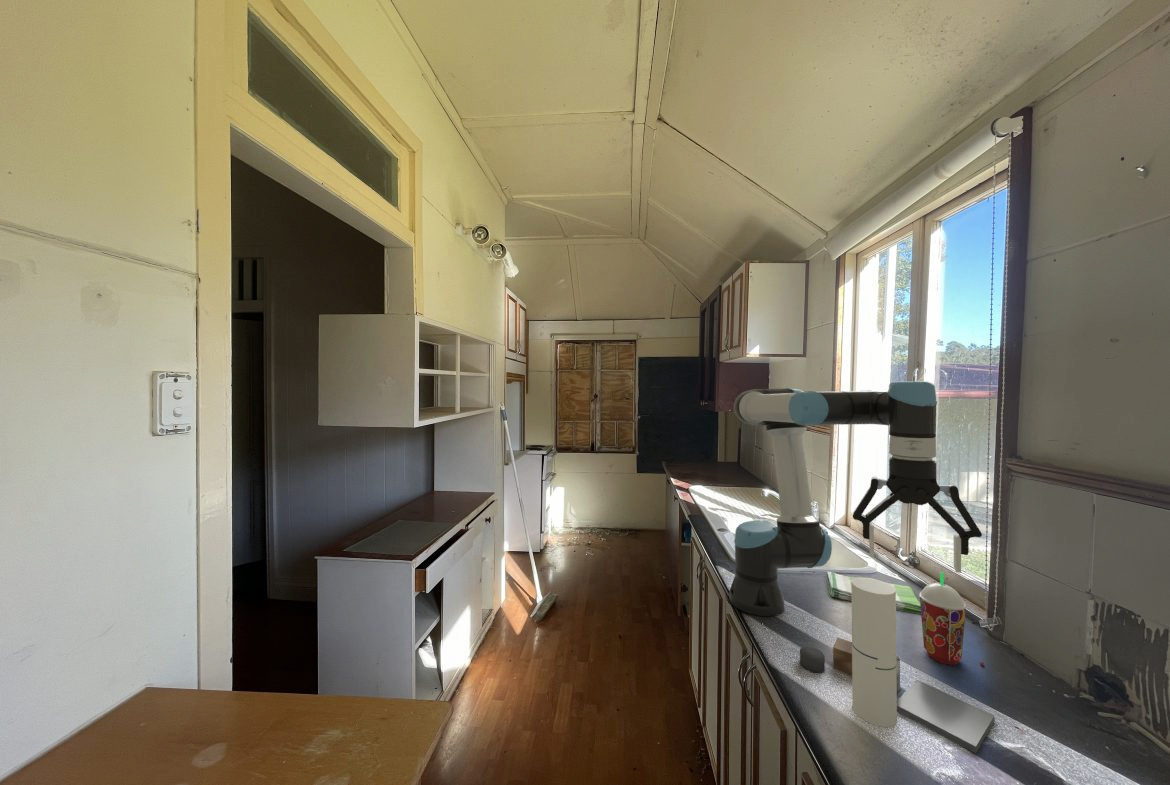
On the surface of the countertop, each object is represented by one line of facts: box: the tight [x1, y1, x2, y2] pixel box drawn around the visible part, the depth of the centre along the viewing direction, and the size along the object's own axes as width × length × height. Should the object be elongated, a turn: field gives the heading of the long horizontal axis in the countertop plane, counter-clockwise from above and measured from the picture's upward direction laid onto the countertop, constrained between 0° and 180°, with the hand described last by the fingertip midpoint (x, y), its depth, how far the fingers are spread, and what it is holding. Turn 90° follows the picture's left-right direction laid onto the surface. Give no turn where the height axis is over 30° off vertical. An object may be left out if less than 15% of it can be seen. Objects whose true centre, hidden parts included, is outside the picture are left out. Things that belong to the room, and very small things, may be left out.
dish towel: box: [825, 570, 921, 615], centre depth 128 cm, size 17×23×4 cm
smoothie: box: [918, 571, 967, 666], centre depth 98 cm, size 8×8×20 cm
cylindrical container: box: [851, 576, 898, 728], centre depth 81 cm, size 7×7×25 cm
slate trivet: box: [897, 679, 996, 754], centre depth 80 cm, size 12×12×1 cm
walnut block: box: [832, 636, 852, 677], centre depth 94 cm, size 5×5×5 cm
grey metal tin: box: [896, 655, 901, 693], centre depth 89 cm, size 5×5×6 cm
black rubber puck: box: [799, 646, 826, 674], centre depth 95 cm, size 5×5×3 cm
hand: (912, 562), depth 84 cm, fingers open, 13 cm apart
